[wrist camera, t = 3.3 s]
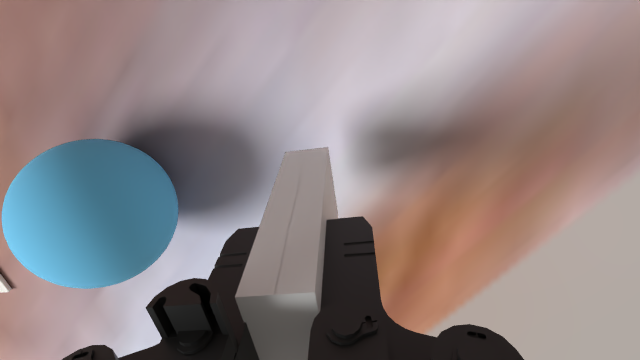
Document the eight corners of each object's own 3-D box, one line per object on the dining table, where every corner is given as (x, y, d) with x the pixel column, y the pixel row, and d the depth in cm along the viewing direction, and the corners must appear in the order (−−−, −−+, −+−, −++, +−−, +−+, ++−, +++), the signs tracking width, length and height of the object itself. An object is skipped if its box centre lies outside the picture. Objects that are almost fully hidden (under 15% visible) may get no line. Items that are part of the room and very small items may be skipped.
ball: (99, 91, 14) (-30, 146, 9) (220, 169, 15) (163, 253, 10) (58, 186, 16) (-64, 270, 11) (167, 246, 18) (99, 344, 13)
